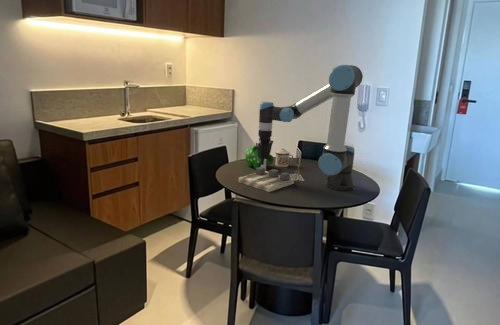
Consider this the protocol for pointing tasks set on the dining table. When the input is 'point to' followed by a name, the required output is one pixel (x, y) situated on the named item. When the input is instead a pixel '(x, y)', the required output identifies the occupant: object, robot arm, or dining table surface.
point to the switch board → (265, 181)
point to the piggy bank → (255, 157)
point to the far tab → (260, 170)
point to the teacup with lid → (282, 158)
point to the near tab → (284, 176)
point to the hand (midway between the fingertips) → (263, 169)
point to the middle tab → (273, 173)
